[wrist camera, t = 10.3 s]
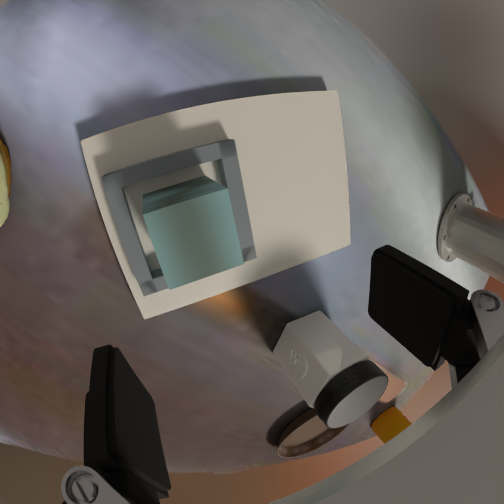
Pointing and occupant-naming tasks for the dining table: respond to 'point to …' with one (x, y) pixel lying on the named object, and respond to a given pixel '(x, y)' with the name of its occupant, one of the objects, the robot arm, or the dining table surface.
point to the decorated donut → (4, 182)
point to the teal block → (192, 230)
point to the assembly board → (228, 185)
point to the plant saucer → (305, 435)
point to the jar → (329, 369)
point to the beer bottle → (389, 424)
